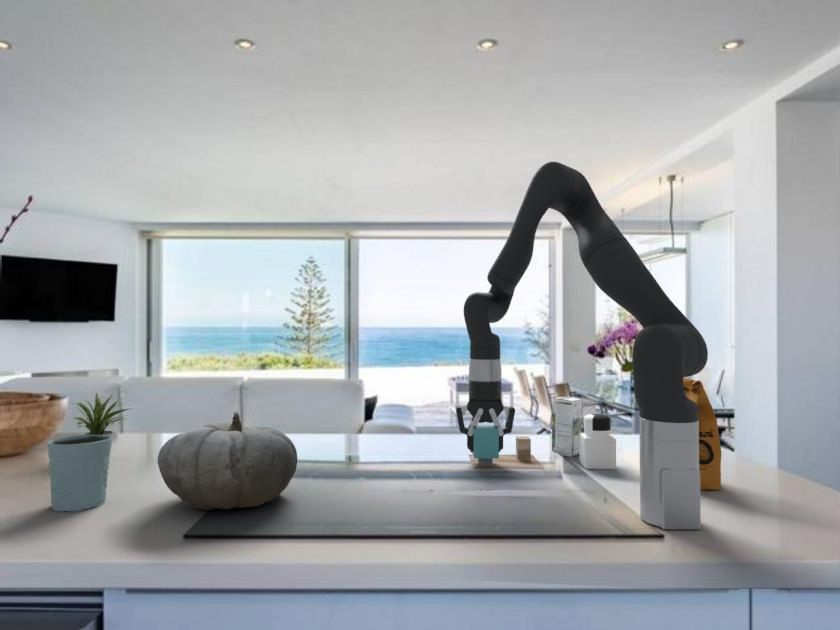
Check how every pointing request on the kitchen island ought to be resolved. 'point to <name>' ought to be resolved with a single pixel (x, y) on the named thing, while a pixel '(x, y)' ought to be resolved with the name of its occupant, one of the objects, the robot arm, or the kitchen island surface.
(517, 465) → the board
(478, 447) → the teal foam cube
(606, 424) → the medicine bottle
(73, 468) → the blue planter pot
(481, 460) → the post slate
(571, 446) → the syrup box
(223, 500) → the gourd
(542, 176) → the robot arm
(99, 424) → the house plant
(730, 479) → the kitchen island surface
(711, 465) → the coffee package
